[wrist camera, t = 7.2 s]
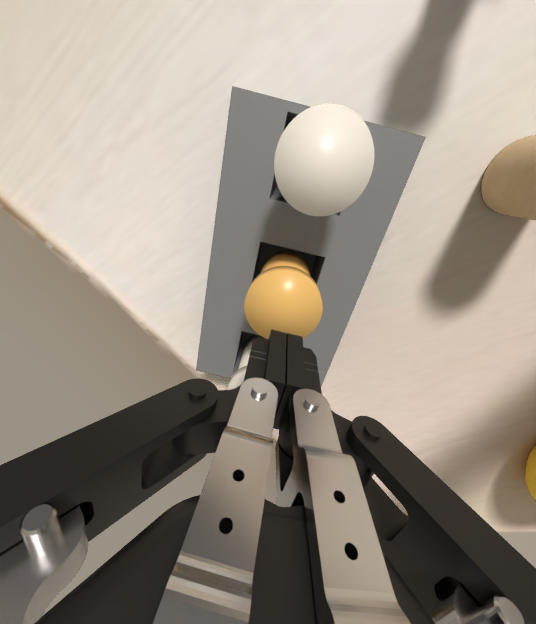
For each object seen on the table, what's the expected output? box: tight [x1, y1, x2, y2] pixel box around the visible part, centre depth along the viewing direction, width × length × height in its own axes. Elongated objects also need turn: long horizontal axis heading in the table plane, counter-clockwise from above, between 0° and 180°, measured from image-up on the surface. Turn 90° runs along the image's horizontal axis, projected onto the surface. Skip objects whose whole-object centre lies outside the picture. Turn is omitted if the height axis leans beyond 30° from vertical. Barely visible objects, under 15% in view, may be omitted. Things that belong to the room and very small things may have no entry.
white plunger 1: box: [227, 334, 266, 390], centre depth 23 cm, size 5×5×6 cm
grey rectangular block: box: [196, 86, 425, 386], centre depth 23 cm, size 12×22×5 cm, turn 167°
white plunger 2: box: [274, 104, 375, 216], centre depth 16 cm, size 5×5×6 cm
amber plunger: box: [244, 251, 323, 339], centre depth 19 cm, size 5×5×6 cm
